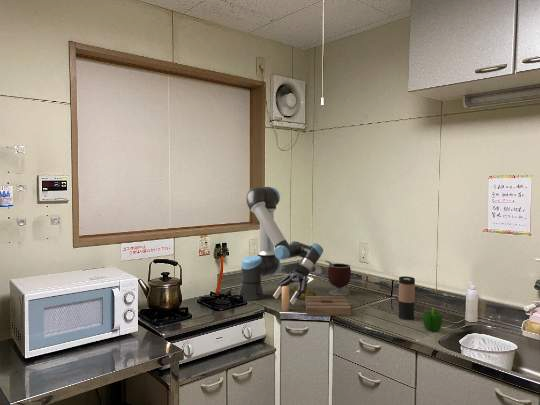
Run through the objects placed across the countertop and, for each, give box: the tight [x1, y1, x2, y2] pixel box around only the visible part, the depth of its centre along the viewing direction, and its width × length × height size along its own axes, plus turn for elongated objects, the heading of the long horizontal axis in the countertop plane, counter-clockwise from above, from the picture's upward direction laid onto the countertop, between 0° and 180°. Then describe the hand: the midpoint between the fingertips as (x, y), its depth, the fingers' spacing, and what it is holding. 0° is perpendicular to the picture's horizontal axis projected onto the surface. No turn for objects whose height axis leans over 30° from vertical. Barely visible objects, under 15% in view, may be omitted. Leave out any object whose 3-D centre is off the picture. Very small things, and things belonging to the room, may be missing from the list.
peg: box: [281, 285, 290, 312], centre depth 220 cm, size 4×4×12 cm
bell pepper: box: [422, 306, 443, 332], centre depth 190 cm, size 8×8×10 cm
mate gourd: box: [325, 260, 352, 296], centre depth 255 cm, size 16×14×20 cm
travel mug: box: [397, 276, 416, 321], centre depth 207 cm, size 8×8×20 cm
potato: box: [293, 284, 317, 301], centre depth 241 cm, size 8×13×8 cm, turn 44°
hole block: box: [304, 295, 352, 316], centre depth 221 cm, size 22×22×4 cm
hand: (283, 300), depth 219 cm, fingers open, 13 cm apart
